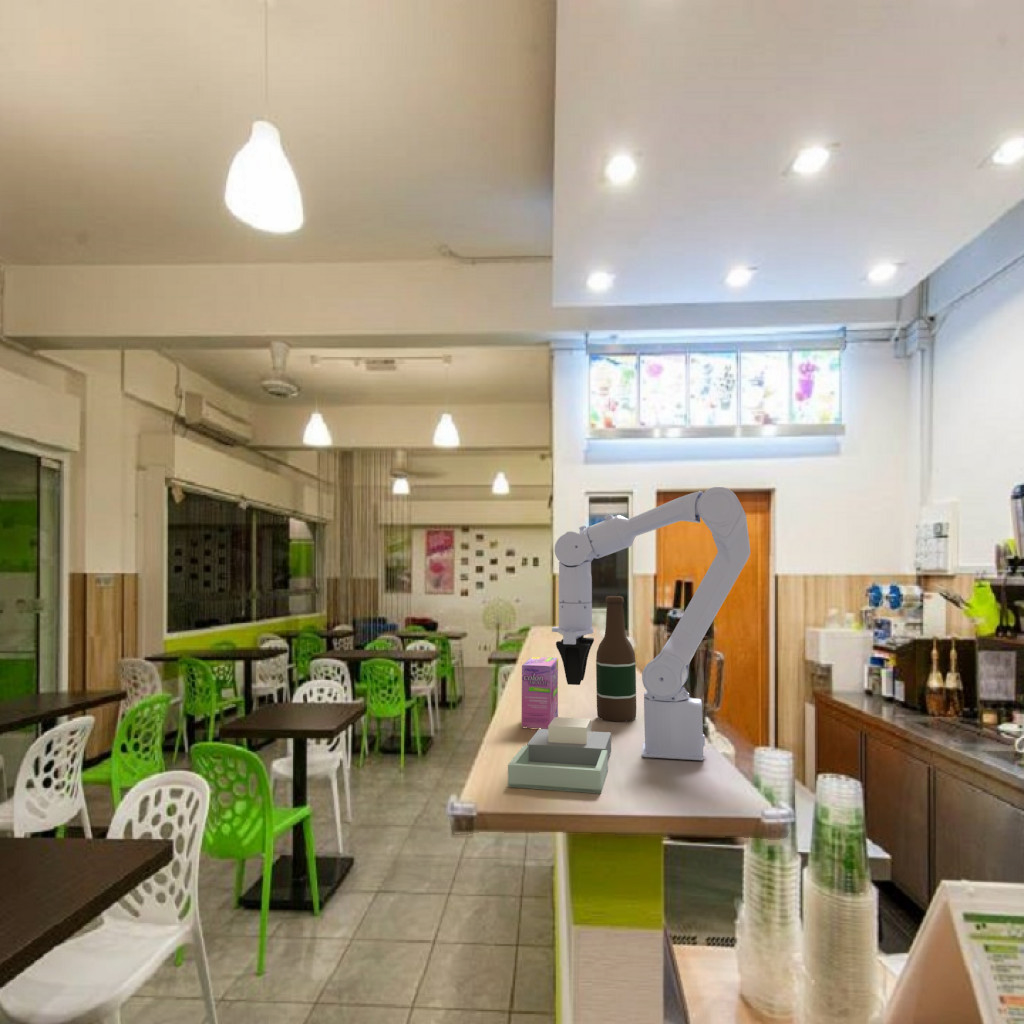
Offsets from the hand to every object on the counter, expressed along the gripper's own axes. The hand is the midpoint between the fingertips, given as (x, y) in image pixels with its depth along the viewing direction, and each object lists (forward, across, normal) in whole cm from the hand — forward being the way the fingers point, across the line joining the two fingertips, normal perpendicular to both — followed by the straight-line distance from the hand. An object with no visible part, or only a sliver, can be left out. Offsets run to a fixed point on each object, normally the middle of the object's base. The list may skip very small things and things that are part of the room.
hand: (575, 682), depth 117 cm
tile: (+7, +8, 0) cm, 11 cm away
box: (+11, -14, -9) cm, 20 cm away
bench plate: (+10, +8, 0) cm, 13 cm away
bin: (+10, +18, 0) cm, 21 cm away
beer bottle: (+11, -21, +5) cm, 24 cm away
